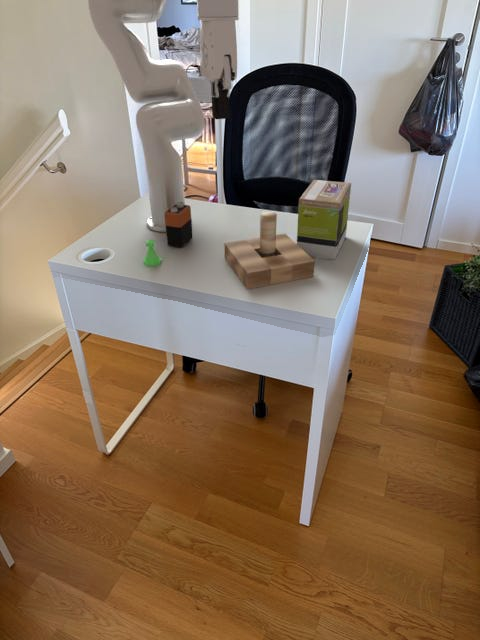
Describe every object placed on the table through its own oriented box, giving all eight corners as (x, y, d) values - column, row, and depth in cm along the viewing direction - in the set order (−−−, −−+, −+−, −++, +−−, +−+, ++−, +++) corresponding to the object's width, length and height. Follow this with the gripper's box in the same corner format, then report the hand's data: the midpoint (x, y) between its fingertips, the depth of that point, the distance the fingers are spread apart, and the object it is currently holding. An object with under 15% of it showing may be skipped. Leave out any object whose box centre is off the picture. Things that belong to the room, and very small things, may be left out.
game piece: (165, 260, 113) (162, 237, 109) (154, 268, 109) (151, 244, 106) (150, 257, 114) (147, 234, 111) (140, 264, 111) (136, 241, 108)
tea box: (309, 232, 126) (313, 177, 118) (346, 237, 123) (353, 181, 115) (294, 255, 115) (298, 196, 106) (335, 261, 112) (342, 202, 103)
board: (224, 258, 113) (224, 243, 111) (284, 248, 118) (285, 233, 115) (247, 289, 101) (247, 273, 99) (313, 276, 105) (314, 261, 103)
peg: (256, 264, 110) (257, 212, 103) (271, 262, 111) (273, 210, 104) (262, 272, 107) (263, 218, 100) (277, 269, 108) (279, 216, 101)
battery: (193, 238, 123) (190, 201, 118) (182, 248, 118) (178, 211, 112) (178, 236, 125) (175, 199, 119) (166, 246, 119) (162, 208, 114)
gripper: (188, 10, 90) (193, 112, 100) (210, 11, 78) (214, 127, 88) (224, 10, 92) (226, 110, 102) (251, 11, 80) (250, 124, 90)
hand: (220, 117), depth 95 cm, fingers closed
